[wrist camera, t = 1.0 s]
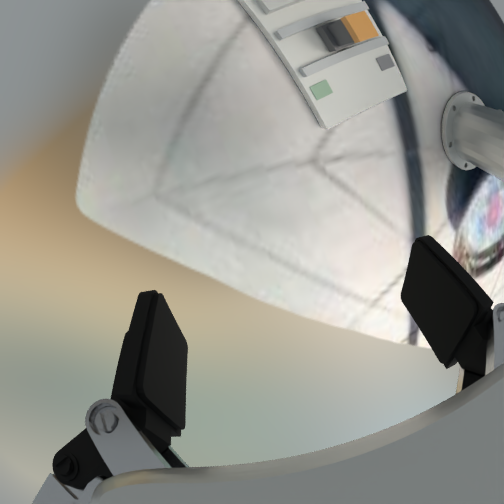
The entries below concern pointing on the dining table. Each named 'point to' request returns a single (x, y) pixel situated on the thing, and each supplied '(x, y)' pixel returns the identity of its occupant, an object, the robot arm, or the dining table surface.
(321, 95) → the breaker panel
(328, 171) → the dining table surface
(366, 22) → the switch handle
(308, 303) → the dining table surface
